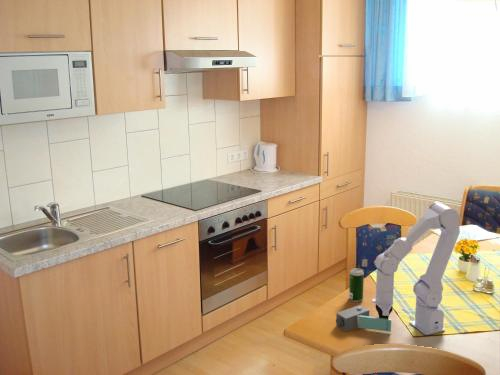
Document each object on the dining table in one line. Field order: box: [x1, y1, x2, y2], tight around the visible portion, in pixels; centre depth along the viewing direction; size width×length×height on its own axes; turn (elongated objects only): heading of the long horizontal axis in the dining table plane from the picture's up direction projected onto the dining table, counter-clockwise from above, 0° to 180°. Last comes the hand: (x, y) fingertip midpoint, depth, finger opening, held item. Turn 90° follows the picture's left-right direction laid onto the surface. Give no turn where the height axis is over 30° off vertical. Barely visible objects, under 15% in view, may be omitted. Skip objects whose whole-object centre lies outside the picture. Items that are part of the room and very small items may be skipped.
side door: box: [357, 315, 392, 333], centre depth 187 cm, size 12×1×4 cm, turn 71°
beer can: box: [348, 267, 365, 303], centre depth 210 cm, size 5×5×12 cm
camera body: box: [335, 304, 370, 332], centre depth 191 cm, size 12×5×6 cm, turn 122°
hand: (383, 325), depth 187 cm, fingers closed, pressing on side door
